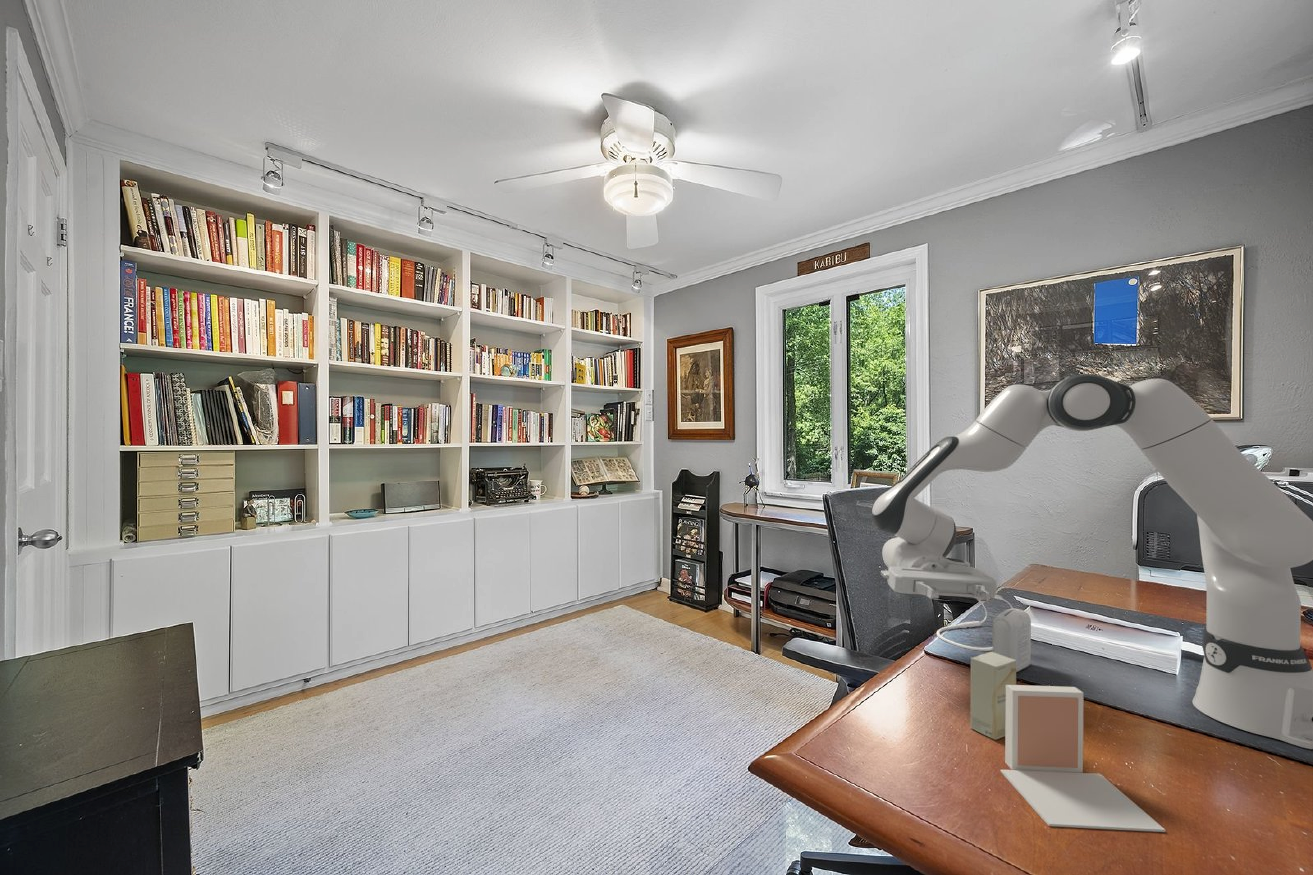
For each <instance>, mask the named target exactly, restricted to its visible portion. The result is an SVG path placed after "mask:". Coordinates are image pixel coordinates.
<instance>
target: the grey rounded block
mask: <svg viewBox="0 0 1313 875" xmlns="http://www.w3.org/2000/svg"><path fill="white" fill-rule="evenodd" d="M1031 632H1032V621H1031V616H1030V615H1029V614H1028V612H1027V611H1025V610H1023V609H1019V608H1014V607H1013V608H1012V609H1011V608H1008V609H1006V610H1003V611H1001V612H1000V613H998V614H997V616H996V617H995V618H994V619H993V622H992V644H991V645H992V646H991V647H992V651H991V652H994V653H997V654H1000V655H1003V656H1006V657H1009V658H1011V659H1014V660H1016V673H1017V672H1020V671H1022V670H1023V669H1026V668H1027V667H1029V666H1030V665H1031V655H1032V654H1031V653H1032V652H1031V650H1032V648H1031V647H1032V646H1031V644H1032V642H1031V641H1032V640H1031V639H1032V637H1031V636H1032V633H1031Z"/></svg>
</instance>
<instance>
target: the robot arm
mask: <svg viewBox="0 0 1313 875" xmlns="http://www.w3.org/2000/svg"><path fill="white" fill-rule="evenodd" d="M1050 426H1057V427H1061V428H1065V429H1068V430H1072V431H1077V432H1087V431H1093V430H1097V429H1101V428H1105V427H1110V426H1116V427H1118V428H1120V429H1121V430H1122V431H1124V432H1125V433H1126V434H1127V435H1128V436H1129V437H1130V438H1131V439H1132V440H1133V442H1134V443H1135V444H1136V446H1137V447H1138V448H1139V450H1140V451H1141V453H1143V454H1144V456H1145V457H1146V458H1147V459H1148V461H1149V462H1150V463H1151V464H1152V465H1153V467H1154V468H1155V469H1156V471H1157V472H1158V473H1159V475H1161V477H1162V478H1163V479H1164V481H1165V483H1167V485H1168V486H1169V487H1170V488H1171V489H1172V490H1173V491H1174V492H1175V493H1177V495H1178V496H1180V497H1181V499H1182V500H1183V501H1184V502H1185V503H1186V504H1187V505H1188V506H1189V507H1190V508H1191V509H1192V511H1193V512H1194V513H1195V514H1196V515H1197V517H1196V520H1197V524H1198V526H1197V527H1198V531H1199V532H1198V534H1199V541H1200V543H1199V544H1200V551H1201V552H1200V553H1201V558H1202V566H1203V571H1204V577H1205V584H1206V607H1205V609H1206V614H1205V615H1206V618H1205V620H1206V621H1205V622H1206V623H1205V625H1206V626H1205V627H1204V628H1202V629H1203V630H1202V637H1201V638H1202V642H1201V643H1202V644H1201V645H1202V649H1203V650H1202V651H1203V655H1204V656H1203V660H1202V661H1203V662H1202V667H1201V671H1200V677H1199V682H1198V685H1197V687H1196V691H1195V694H1194V696H1193V699H1192V701H1191V702H1192V705H1193V706H1194V707H1195V708H1196V709H1197V710H1198V711H1200V712H1201V713H1202V714H1204V715H1206V716H1208V717H1210V718H1212V719H1214V720H1216V721H1218V722H1221V723H1223V724H1226V725H1227V726H1231V727H1234V728H1236V729H1240V730H1243V731H1245V732H1249V733H1251V734H1256V735H1260V736H1263V737H1268V738H1273V739H1275V740H1280V741H1283V742H1285V743H1288V744H1290V745H1294V746H1297V747H1300V748H1304V749H1307V750H1308V749H1309V750H1313V666H1312V664H1311V662H1310V660H1312V661H1313V647H1309V648H1305V647H1303V646H1302V645H1301V626H1302V625H1301V619H1302V618H1301V617H1302V615H1301V613H1302V612H1301V609H1302V605H1301V604H1302V602H1301V597H1300V595H1299V593H1298V591H1297V588H1296V585H1295V581H1294V579H1293V574H1292V570H1291V569H1292V568H1297V567H1300V566H1304V565H1306V564H1308V563H1310V562H1312V561H1313V520H1312V518H1310V517H1309V516H1308V515H1307V514H1306V513H1305V512H1303V511H1302V509H1300V508H1299V507H1298V505H1297V504H1295V503H1294V502H1293V500H1292V499H1291V498H1290V497H1288V495H1286V494H1285V492H1283V490H1282V489H1280V487H1278V486H1277V484H1275V483H1274V482H1273V481H1272V480H1271V479H1270V478H1268V476H1267V475H1265V474H1264V473H1263V472H1262V471H1261V470H1260V469H1258V467H1257V466H1256V465H1254V464H1253V463H1252V462H1251V461H1250V460H1249V459H1248V458H1247V457H1246V456H1245V455H1244V454H1243V453H1242V452H1241V451H1240V450H1239V449H1238V447H1237V446H1236V445H1235V444H1234V442H1232V440H1231V439H1230V438H1229V437H1228V436H1227V434H1226V433H1225V432H1224V431H1223V430H1222V428H1220V427H1219V426H1218V424H1217V423H1216V422H1215V421H1214V419H1212V417H1211V416H1210V415H1209V413H1207V412H1206V411H1205V410H1204V408H1202V407H1201V406H1200V404H1198V402H1196V401H1195V399H1193V398H1192V397H1191V396H1190V395H1189V394H1187V393H1186V392H1185V391H1184V390H1182V389H1181V388H1180V387H1179V386H1178V385H1176V384H1174V383H1173V382H1172V381H1170V380H1167V379H1163V378H1149V379H1145V380H1140V381H1138V382H1135V383H1133V384H1131V385H1126V384H1124V383H1121V382H1118V381H1116V380H1113V379H1111V378H1108V377H1106V376H1102V375H1100V374H1095V373H1081V374H1074V375H1071V376H1069V377H1066V378H1064V379H1062V380H1061V381H1059V382H1058V383H1057V384H1055V386H1053V387H1051V388H1050V389H1047V390H1041V389H1038V388H1035V387H1033V386H1031V385H1026V384H1012V385H1011V384H1010V385H1009V386H1007V387H1005V388H1004V389H1002V390H1001V391H1000V392H999V393H998V394H997V395H996V396H995V397H994V398H993V399H992V400H991V401H990V402H989V403H988V404H987V406H986V407H985V408H984V409H983V410H982V411H981V412H980V413H979V415H978V416H977V417H976V419H975V420H974V421H973V423H972V424H971V425H970V426H968V427H967V429H964V430H963V431H962V432H960V433H957V435H954V436H946V437H944V438H942V439H941V440H939V441H938V442H937V443H936V444H934V445H933V446H932V447H931V448H930V449H929V450H927V451H926V453H925V454H924V455H922V456H921V457H920V459H918V461H916V463H914V465H912V466H911V467H910V468H909V469H908V470H907V472H905V474H903V475H902V476H901V478H899V479H898V480H897V481H896V482H895V483H894V484H893V485H892V486H890V487H889V488H887V489H886V490H885V491H883V492H882V493H881V494H879V496H878V497H877V498H876V500H875V501H874V503H873V504H872V507H871V509H870V510H871V517H872V520H873V522H874V524H875V526H876V528H877V529H878V530H879V531H882V532H884V533H886V534H889V535H890V536H891V535H892V536H895V537H893V538H891V539H889V540H887V541H886V542H885V543H884V544H883V547H882V550H881V553H882V554H881V555H882V559H883V562H884V564H885V566H886V567H887V569H884V570H880V575H881V576H882V577H883V578H885V579H887V581H886V582H887V584H888V586H889V587H890V588H891V589H892V590H893V591H894V592H895V593H898V594H906V595H907V594H908V595H922V596H925V597H928V599H931V600H932V599H933V600H935V599H936V600H937V599H939V597H940V596H945V597H961V598H963V597H964V598H975V597H976V598H975V599H976V600H977V601H978V600H979V601H981V602H990V599H995V598H994V597H995V595H997V588H998V587H997V586H998V584H997V580H996V579H995V578H994V577H992V576H991V575H989V574H987V573H986V572H984V571H983V570H980V569H978V568H975V567H972V566H971V563H970V562H969V561H966V560H963V559H958V558H957V559H956V558H951V557H948V555H949V554H950V553H951V551H952V549H953V548H954V546H955V544H956V542H957V525H956V522H955V520H954V518H953V517H951V516H950V515H948V514H946V513H945V512H942V511H940V510H939V509H937V508H934V507H932V506H930V505H928V504H925V503H923V502H922V501H920V500H918V499H916V497H917V496H918V495H919V494H920V493H921V492H922V491H924V489H926V488H927V487H928V486H929V485H930V484H931V483H932V481H934V480H935V479H936V478H937V477H938V476H939V475H940V474H943V473H945V472H947V471H952V470H967V471H973V472H980V473H982V472H984V473H988V472H989V473H990V472H991V473H992V472H998V471H1001V470H1005V469H1008V468H1009V467H1011V466H1012V465H1014V464H1015V463H1016V461H1017V460H1018V459H1019V458H1020V457H1021V456H1022V455H1023V453H1024V452H1025V451H1026V450H1027V448H1028V447H1029V446H1030V445H1031V443H1032V442H1033V440H1034V439H1035V438H1036V437H1037V436H1038V435H1039V434H1040V433H1041V432H1042V431H1043V430H1044V429H1047V428H1048V427H1050ZM979 601H978V602H979Z"/></svg>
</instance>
